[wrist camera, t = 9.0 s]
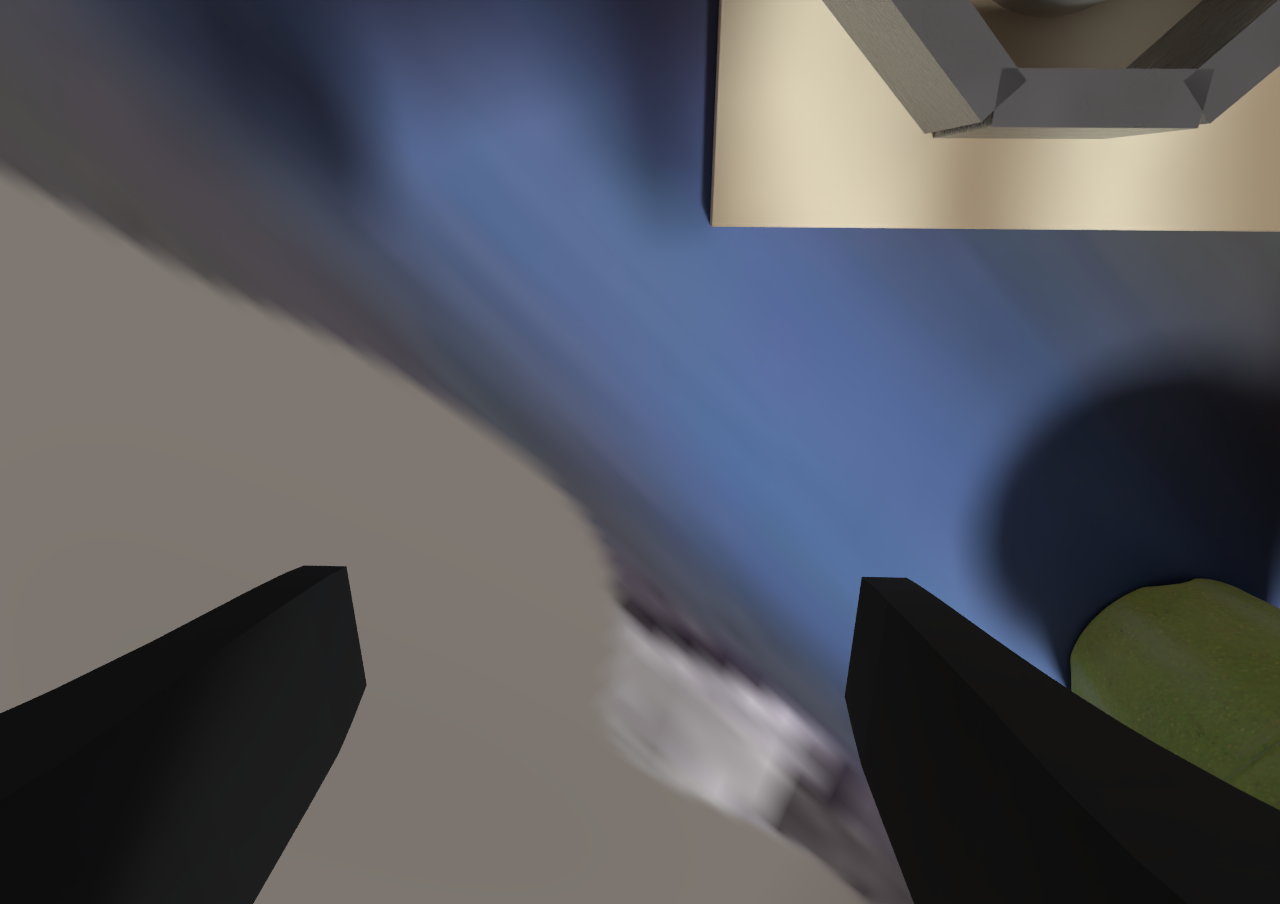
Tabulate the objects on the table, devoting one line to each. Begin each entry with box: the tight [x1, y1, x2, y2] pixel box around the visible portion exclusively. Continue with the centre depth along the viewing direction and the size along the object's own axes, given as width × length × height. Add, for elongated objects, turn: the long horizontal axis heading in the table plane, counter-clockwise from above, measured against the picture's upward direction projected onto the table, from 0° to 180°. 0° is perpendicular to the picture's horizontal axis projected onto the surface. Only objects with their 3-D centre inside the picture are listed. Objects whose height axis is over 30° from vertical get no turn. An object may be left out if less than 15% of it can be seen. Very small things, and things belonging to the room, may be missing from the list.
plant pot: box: [1070, 579, 1280, 810], centre depth 18 cm, size 9×9×9 cm
